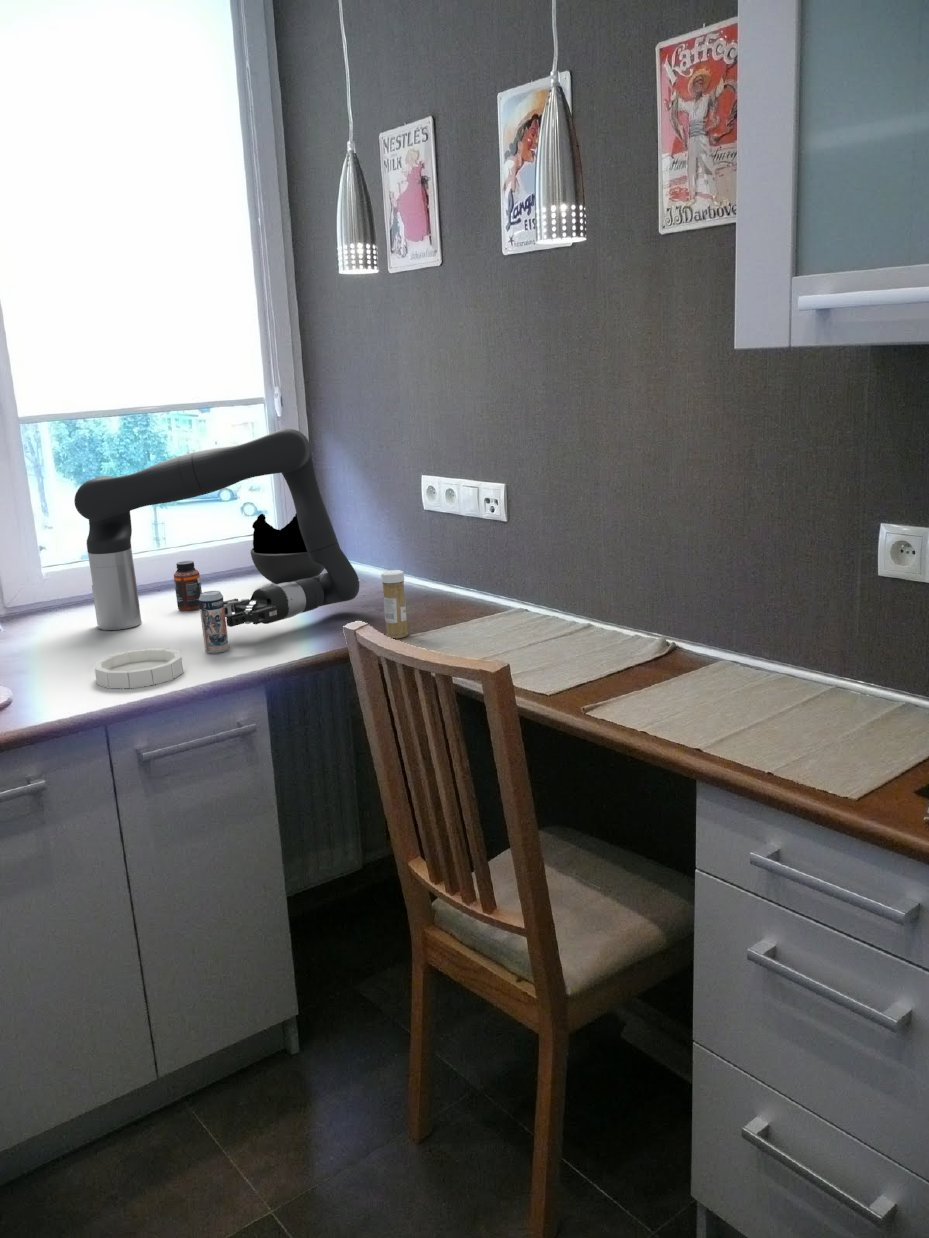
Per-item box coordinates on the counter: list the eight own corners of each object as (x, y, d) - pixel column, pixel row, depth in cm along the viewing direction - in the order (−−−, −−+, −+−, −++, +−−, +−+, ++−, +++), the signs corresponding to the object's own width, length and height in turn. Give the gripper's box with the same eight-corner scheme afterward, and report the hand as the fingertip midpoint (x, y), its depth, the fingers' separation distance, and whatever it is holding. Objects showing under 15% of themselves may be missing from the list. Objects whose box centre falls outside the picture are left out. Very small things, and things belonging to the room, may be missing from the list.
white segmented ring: (81, 679, 193) (79, 664, 192) (153, 659, 204) (151, 644, 203) (125, 693, 183) (123, 677, 182) (199, 671, 194) (197, 656, 193)
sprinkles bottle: (412, 636, 210) (407, 571, 207) (392, 640, 208) (388, 575, 204) (401, 631, 214) (396, 568, 211) (381, 636, 212) (376, 571, 208)
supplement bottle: (209, 607, 246) (203, 560, 243) (190, 613, 241) (184, 565, 238) (191, 605, 249) (185, 558, 246) (172, 610, 244) (166, 563, 241)
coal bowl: (349, 580, 267) (343, 507, 262) (300, 597, 250) (292, 520, 246) (288, 575, 277) (282, 505, 272) (237, 592, 260) (229, 517, 256)
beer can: (208, 656, 204) (201, 597, 201) (202, 650, 208) (195, 592, 205) (232, 651, 206) (225, 593, 203) (225, 646, 210) (219, 589, 207)
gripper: (255, 581, 221) (191, 596, 209) (299, 588, 212) (234, 605, 200) (259, 615, 223) (196, 632, 211) (302, 623, 214) (238, 642, 202)
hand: (214, 619), depth 206 cm, fingers open, 8 cm apart
